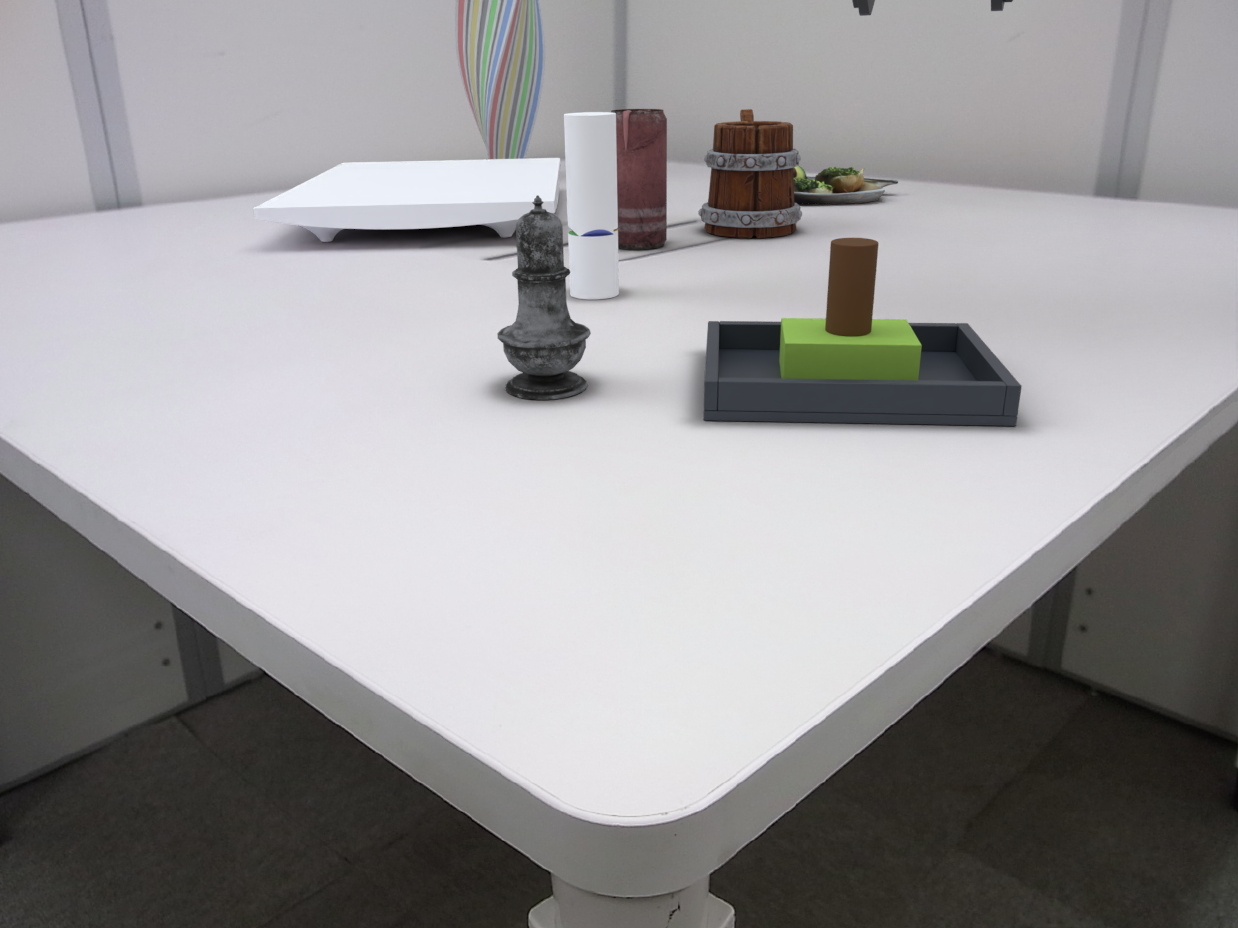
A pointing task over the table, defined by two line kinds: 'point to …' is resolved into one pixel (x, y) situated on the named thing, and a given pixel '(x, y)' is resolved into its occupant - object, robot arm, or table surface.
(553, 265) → the salt shaker
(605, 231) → the tube
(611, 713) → the table surface
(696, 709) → the table surface
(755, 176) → the mug
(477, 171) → the board
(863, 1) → the robot arm
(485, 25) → the vase
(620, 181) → the can
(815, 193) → the salad plate
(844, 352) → the green block brown handle
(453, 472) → the table surface
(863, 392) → the tray
